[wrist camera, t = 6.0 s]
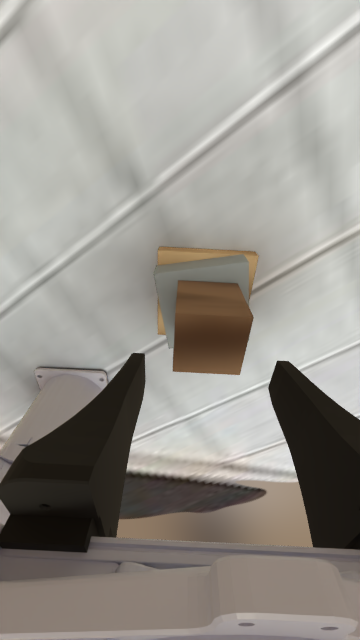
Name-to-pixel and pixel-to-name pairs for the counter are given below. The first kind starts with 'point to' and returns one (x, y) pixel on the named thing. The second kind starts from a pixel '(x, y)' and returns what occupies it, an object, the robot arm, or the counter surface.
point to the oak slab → (189, 254)
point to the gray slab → (198, 270)
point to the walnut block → (210, 328)
